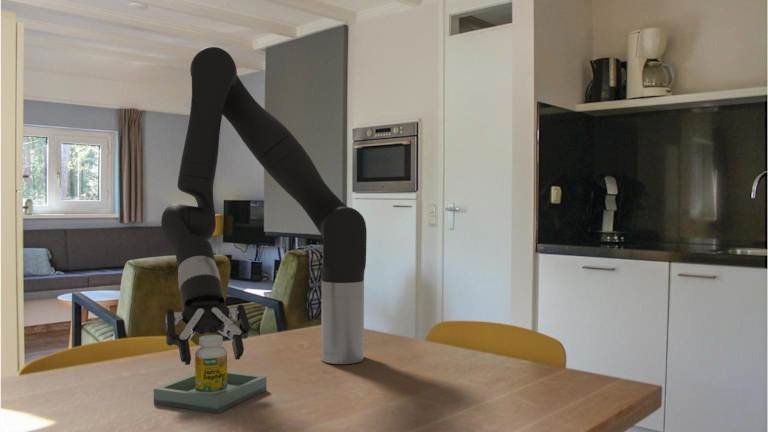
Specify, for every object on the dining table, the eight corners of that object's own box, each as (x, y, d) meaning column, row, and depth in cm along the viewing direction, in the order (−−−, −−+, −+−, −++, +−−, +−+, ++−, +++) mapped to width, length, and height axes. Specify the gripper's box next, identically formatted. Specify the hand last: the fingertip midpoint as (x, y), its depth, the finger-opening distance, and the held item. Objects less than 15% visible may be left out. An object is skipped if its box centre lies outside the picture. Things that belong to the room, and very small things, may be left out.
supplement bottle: (221, 385, 112) (221, 332, 112) (231, 393, 107) (231, 337, 107) (191, 390, 109) (191, 335, 109) (200, 398, 104) (200, 341, 104)
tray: (207, 382, 117) (207, 369, 117) (266, 390, 112) (266, 376, 112) (153, 403, 104) (153, 388, 104) (217, 413, 99) (217, 397, 99)
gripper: (162, 274, 111) (173, 351, 101) (241, 271, 118) (259, 343, 108) (158, 300, 116) (168, 376, 106) (234, 295, 122) (250, 367, 112)
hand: (214, 359), depth 107 cm, fingers open, 8 cm apart
